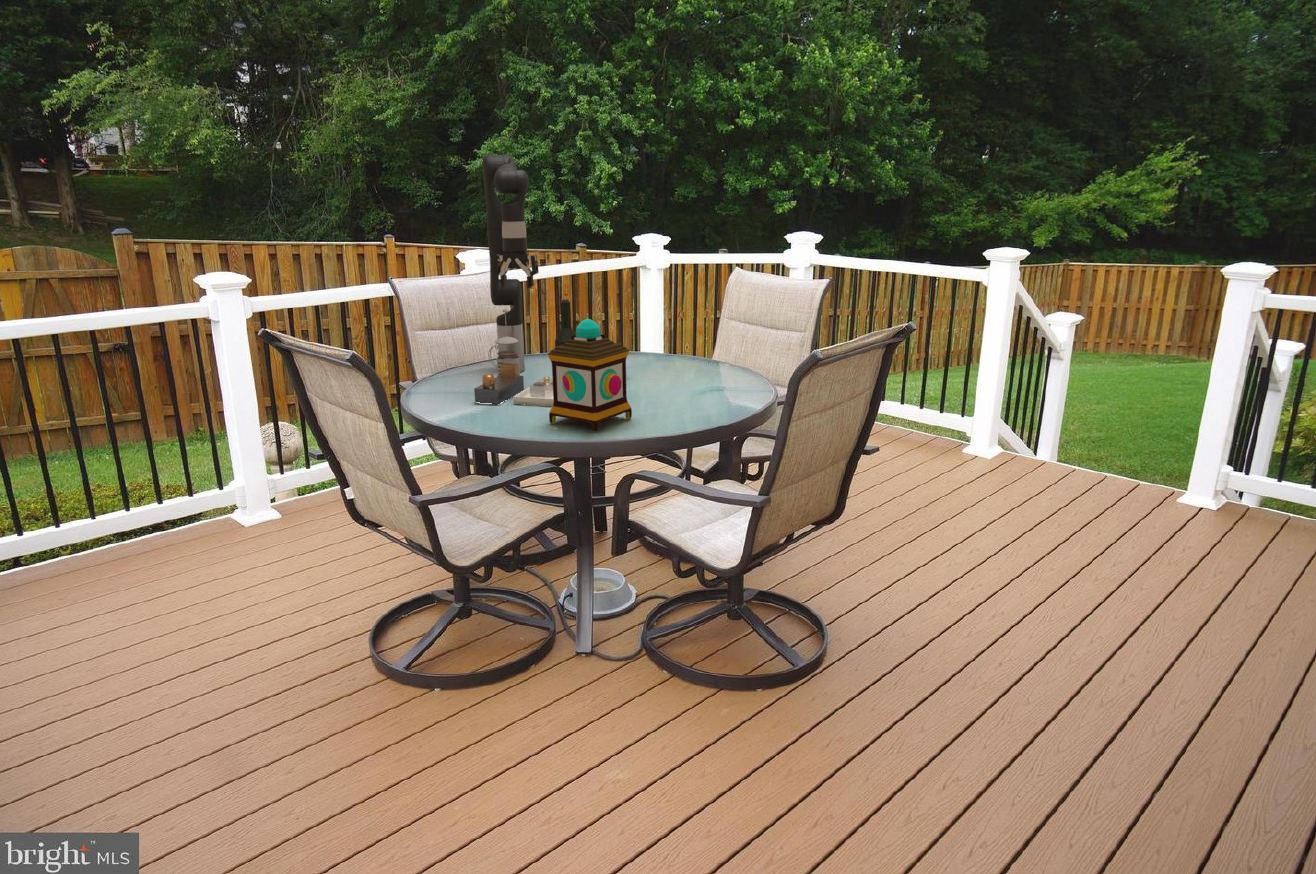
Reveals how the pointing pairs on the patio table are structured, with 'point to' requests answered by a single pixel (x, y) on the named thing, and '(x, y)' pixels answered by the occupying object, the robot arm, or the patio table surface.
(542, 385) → the lever cap
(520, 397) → the tray
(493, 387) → the plane body
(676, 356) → the patio table surface
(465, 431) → the patio table surface
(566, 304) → the wine bottle
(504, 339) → the french press
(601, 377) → the decorative lantern
